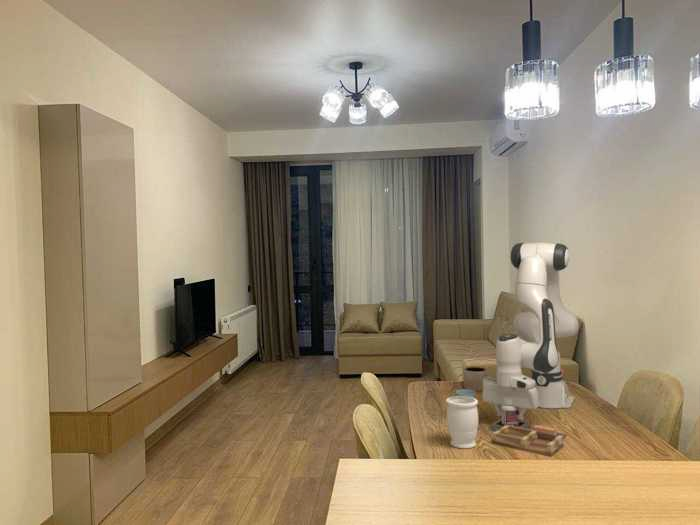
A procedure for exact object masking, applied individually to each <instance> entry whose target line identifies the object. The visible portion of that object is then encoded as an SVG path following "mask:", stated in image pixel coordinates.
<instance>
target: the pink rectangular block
mask: <svg viewBox="0 0 700 525" xmlns="http://www.w3.org/2000/svg"><path fill="white" fill-rule="evenodd" d="M532 430H536V431H537V432H540V433H545V434H550V435H555V436H556V433H557V428H554V427H549V426H544V425H537V424H535V425H534V426H532Z"/></svg>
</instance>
